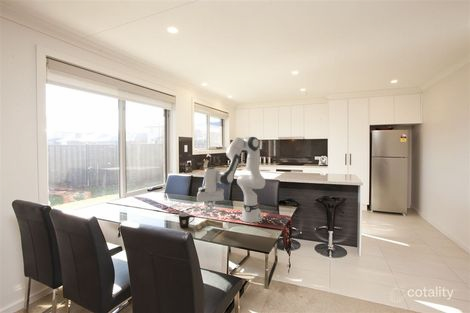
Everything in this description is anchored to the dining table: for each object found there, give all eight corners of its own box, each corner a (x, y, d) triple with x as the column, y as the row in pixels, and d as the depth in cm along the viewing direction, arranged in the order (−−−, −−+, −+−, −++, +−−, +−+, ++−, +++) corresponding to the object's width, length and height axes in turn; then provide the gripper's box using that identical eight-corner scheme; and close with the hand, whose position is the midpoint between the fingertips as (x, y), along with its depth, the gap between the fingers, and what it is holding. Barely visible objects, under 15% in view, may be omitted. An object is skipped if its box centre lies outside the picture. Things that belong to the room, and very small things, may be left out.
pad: (205, 226, 187) (205, 226, 187) (213, 228, 184) (213, 228, 184) (201, 229, 182) (201, 229, 182) (208, 231, 178) (208, 230, 178)
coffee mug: (176, 228, 184) (176, 215, 183) (182, 224, 192) (181, 212, 191) (190, 229, 180) (190, 217, 180) (195, 226, 189) (195, 213, 188)
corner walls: (206, 224, 193) (206, 219, 193) (222, 227, 186) (222, 222, 186) (194, 230, 179) (194, 225, 178) (211, 234, 171) (211, 229, 171)
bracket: (204, 209, 180) (204, 202, 179) (211, 209, 181) (211, 202, 181) (205, 212, 173) (205, 205, 173) (212, 212, 174) (212, 204, 174)
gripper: (223, 187, 182) (223, 204, 183) (196, 188, 177) (196, 206, 178) (224, 188, 176) (224, 207, 177) (197, 190, 171) (197, 208, 172)
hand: (210, 206), depth 177 cm, fingers closed on bracket
